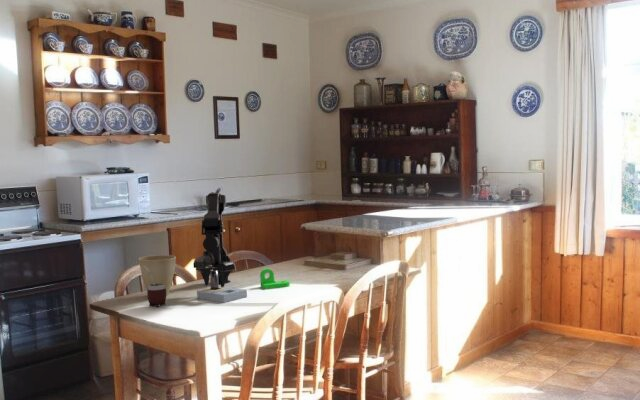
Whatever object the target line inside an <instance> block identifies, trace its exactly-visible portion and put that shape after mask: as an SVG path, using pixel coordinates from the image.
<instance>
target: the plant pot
mask: <svg viewBox="0 0 640 400" xmlns="http://www.w3.org/2000/svg"><path fill="white" fill-rule="evenodd" d="M176 259H177V257H176V256H175V255H170V254H169V255H168V254H166V255H165V254H159V255H157V254H156V255H145V256H141V257H139V258H138V263H139V269H140V273H141V276H142V280H143V283H144V286H145V289H146V291H148V287H149V285H151V284H153V283H152V280H151V277H150V275H149V272H148V271H147V270H146V269H145V268H144V266H145V267H146V268H147V269H148V270H149V271H150V272H151V275H152V278H153V281H154V284H163V285H164V286H165V289H166V297H167V296H168V295H169V292H170V289H171V287H172V282H173V279H174V273H175V269H176V268H175V267H176Z"/></svg>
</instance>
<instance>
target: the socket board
mask: <svg viewBox="0 0 640 400" xmlns="http://www.w3.org/2000/svg"><path fill="white" fill-rule="evenodd" d="M247 293H248V290H247V289H245V288H238V287H230V286H224V287H222V288H221V285H219V289H218V290H211V287H207V288H202V289H200V290H196V294H197V295H196V298H197V299H200V300H205V301H211V302H217V303H222V304H225V303H226V304H227V303H229V302H233V301H237V300H241V299H245V298H247V297H248V294H247Z"/></svg>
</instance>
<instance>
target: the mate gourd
mask: <svg viewBox="0 0 640 400" xmlns="http://www.w3.org/2000/svg"><path fill="white" fill-rule="evenodd" d="M144 268H145V269H146V270H147V271H148V272H149V275H150V277H151V280H152V283H153V284H151V285H149V287H148V291H147V290H146V291H147V292H146V293H147V300H148V307H156V308H159V307H160V306H166V305H167V303H166V299H167V296H166V289H165V286H164V285H163V284H154V281H153V278H152V275H151V272H150V271H149V270H148V269H147V268H146V267H145V266H144Z"/></svg>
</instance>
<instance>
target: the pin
mask: <svg viewBox="0 0 640 400" xmlns="http://www.w3.org/2000/svg"><path fill="white" fill-rule="evenodd" d="M217 271H218V270H211V271H210V278H209V282H210V283H209V284H210V285H209V286H210V288H211V290H218V289H219V286H220V284H218V272H217Z"/></svg>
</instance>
